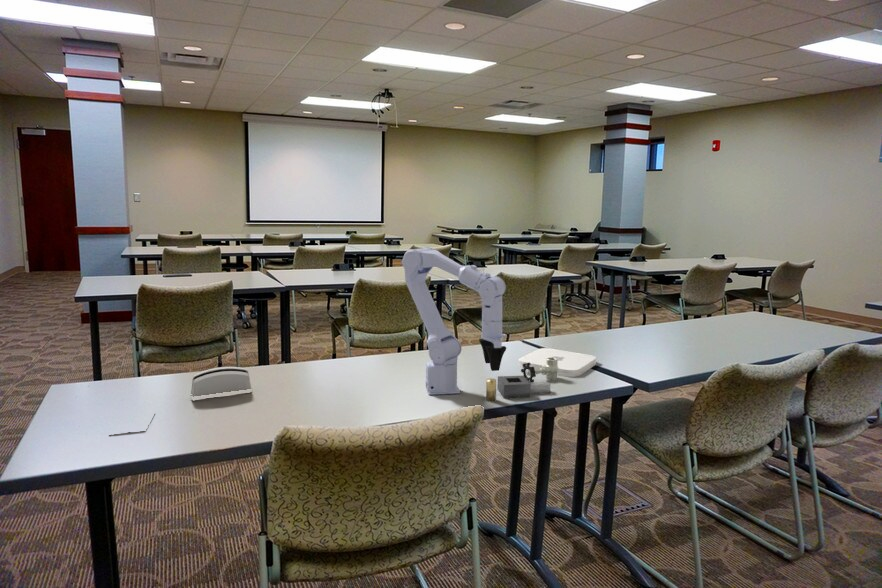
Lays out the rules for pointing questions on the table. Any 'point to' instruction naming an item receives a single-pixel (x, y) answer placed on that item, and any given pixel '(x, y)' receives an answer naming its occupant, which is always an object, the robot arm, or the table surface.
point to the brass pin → (491, 389)
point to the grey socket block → (520, 387)
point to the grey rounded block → (220, 381)
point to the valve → (542, 370)
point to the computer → (560, 361)
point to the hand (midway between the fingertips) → (492, 366)
